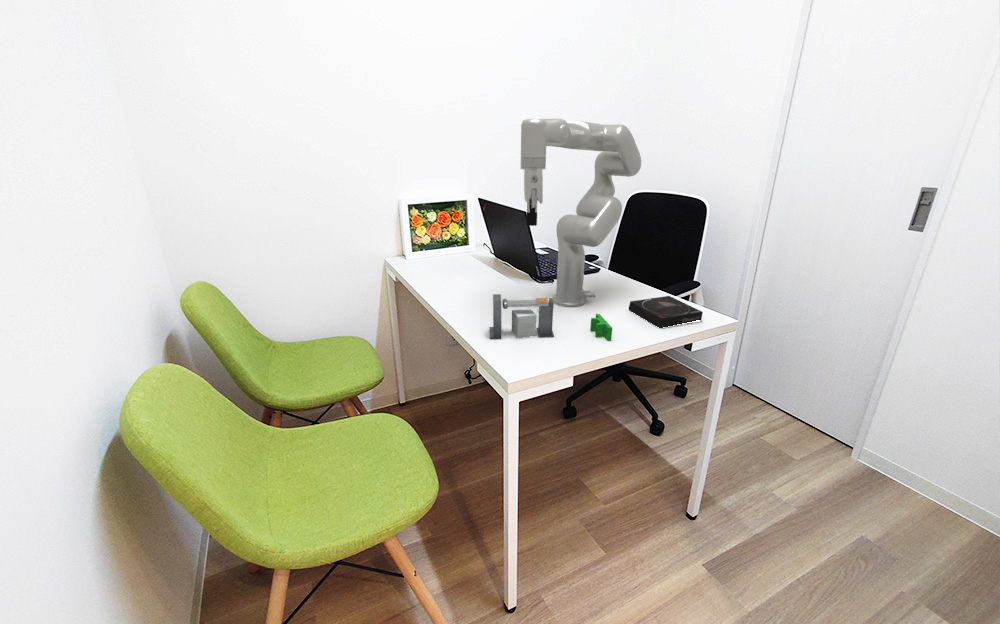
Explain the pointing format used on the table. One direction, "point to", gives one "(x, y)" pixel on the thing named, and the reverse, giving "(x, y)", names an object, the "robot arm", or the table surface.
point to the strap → (525, 303)
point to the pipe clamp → (601, 327)
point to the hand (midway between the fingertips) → (531, 225)
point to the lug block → (545, 320)
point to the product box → (523, 322)
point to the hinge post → (496, 318)
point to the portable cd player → (664, 311)
